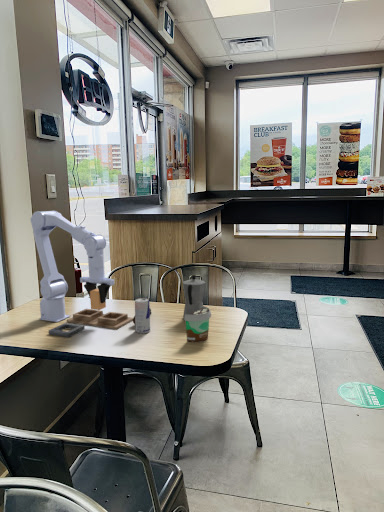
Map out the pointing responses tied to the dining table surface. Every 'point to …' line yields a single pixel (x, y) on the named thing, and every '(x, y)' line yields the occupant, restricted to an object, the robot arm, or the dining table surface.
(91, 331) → the dining table surface
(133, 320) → the bolt
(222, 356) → the dining table surface
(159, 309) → the dining table surface
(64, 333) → the metal socket
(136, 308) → the energy drink
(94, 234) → the robot arm
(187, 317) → the food container
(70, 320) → the walnut rack
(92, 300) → the orange peg
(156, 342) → the dining table surface
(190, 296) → the coffeepot
